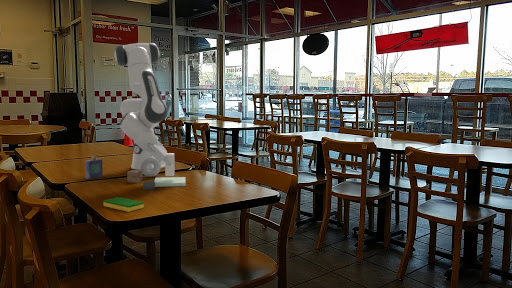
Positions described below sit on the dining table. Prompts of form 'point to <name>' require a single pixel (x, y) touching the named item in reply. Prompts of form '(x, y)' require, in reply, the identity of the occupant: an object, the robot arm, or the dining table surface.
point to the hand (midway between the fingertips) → (171, 163)
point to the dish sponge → (123, 204)
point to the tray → (170, 181)
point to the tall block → (170, 169)
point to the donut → (146, 162)
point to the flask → (93, 168)
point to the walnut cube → (134, 176)
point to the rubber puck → (149, 185)
